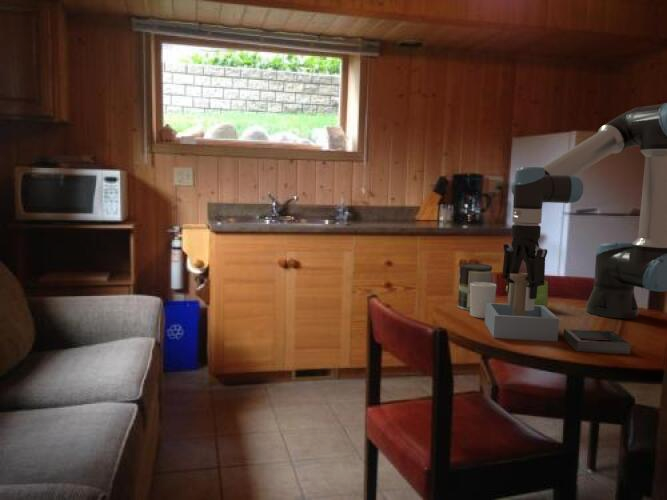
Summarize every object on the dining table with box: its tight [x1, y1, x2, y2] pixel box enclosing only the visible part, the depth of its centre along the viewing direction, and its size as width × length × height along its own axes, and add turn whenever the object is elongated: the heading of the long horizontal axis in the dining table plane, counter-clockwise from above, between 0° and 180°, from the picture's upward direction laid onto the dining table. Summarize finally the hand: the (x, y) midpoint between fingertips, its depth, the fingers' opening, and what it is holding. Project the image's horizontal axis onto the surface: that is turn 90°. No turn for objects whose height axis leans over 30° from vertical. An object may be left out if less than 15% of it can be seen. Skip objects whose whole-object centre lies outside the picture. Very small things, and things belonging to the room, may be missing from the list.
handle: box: [510, 272, 528, 316], centre depth 157 cm, size 5×6×15 cm
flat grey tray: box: [562, 328, 632, 355], centre depth 146 cm, size 12×12×2 cm
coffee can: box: [457, 262, 493, 312], centre depth 185 cm, size 10×10×14 cm
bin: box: [484, 302, 560, 342], centre depth 157 cm, size 16×16×6 cm
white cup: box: [469, 282, 497, 319], centre depth 175 cm, size 8×8×10 cm
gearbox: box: [505, 279, 549, 309], centre depth 191 cm, size 18×10×10 cm, turn 14°
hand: (520, 307), depth 157 cm, fingers open, 5 cm apart
